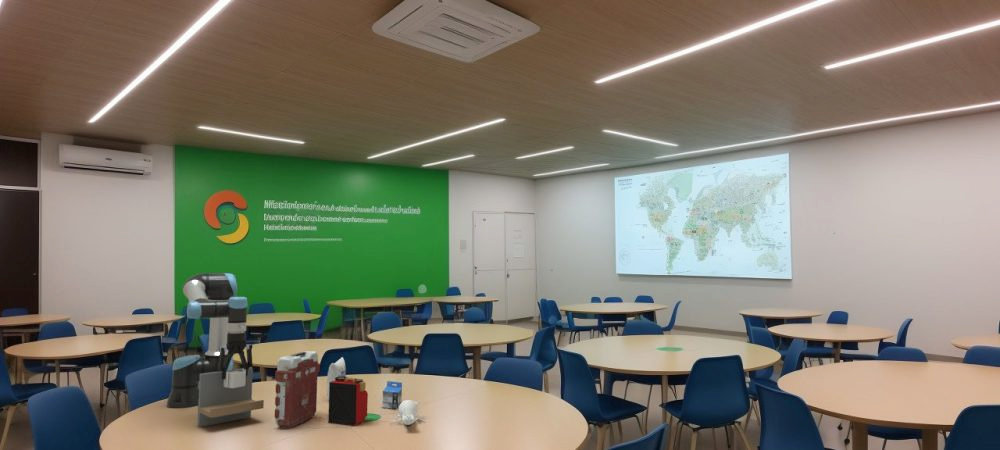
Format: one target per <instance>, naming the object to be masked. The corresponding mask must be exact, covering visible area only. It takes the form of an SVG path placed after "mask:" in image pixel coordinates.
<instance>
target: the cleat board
mask: <svg viewBox="0 0 1000 450" xmlns="http://www.w3.org/2000/svg"><path fill="white" fill-rule="evenodd" d="M242 369H244V368H237V369H236V368H235V369H232V370H227V371H228V372H232V371H242ZM253 369H254V368H253V367H250V368H249V369H248V375H247V376H246V381H245V386H242V387H237V388H228V387H224V379H222V371H219V372H211V373H203V374H200V379H199V400H198V405H197V422H196V423H197V428H198V427H199V428H202V426H203V427H206V426H207V427H208V426H212V425H217V424H222V423H223V424H224V423H227V422H233V421H237V420H239V421H240V420H244V419H249V418H251V417H252V411H256V410H261V409H264V407H265V406H264V401H265V400H264V399H260V400H255V399H252V395H253V394H252V393H253V374H254V373H253V371H254V370H253Z"/></svg>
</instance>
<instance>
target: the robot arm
mask: <svg viewBox="0 0 1000 450" xmlns="http://www.w3.org/2000/svg"><path fill="white" fill-rule="evenodd" d="M182 293H183V295H184V296H185V297H186V298H187V299H188V303H187V308H186V314H187V315H186V316H187V318H188V319H195V320H199V319H209V331H208V332H209V336H208V337H209V339H208V350H207V351H206V352H205V353H204V357H201V356H200V354H191V355H185V356H181V357H177V358H176V359H174V360H173V365H172V378H171V379H172V382H171V391H170V392H169V396H168V398H167V401H166V407H167V408H172V409H173V408H175V409H178V408H179V409H180V408H191V407H195V406H198V400H199V379H200V374H203V373H211V372H219V371H222V379H224V387H228V373H229V372H228V371H227V370H233V367H234V355H238V356H239V359H240V362H241V363H242V364H241V365H242V367H243V368H244V369H242V368H241V369H242V372H245V381H246V376H247V375H248V369H249V368H250V367H251V368H253V366H254V365H253V353H252V352H253V351H252V349H253V344H249V343H248V344H247V342H246V341H247V332H246V331H247V318H248V317H247V316H248V305H249V304H248V298H247V297H245V296H237V293H238V283H237V279H236V276H235V274H233V273H228V272H227V273H226V272H221V273H220V272H216V273H215V272H214V273H213V272H212V273H208V272H207V273H206V272H202V273H197V274H194V275H192V276H190V277H189V278H187V279H186V280H185V281H184V283H183V284H182ZM245 349H246V355H245V351H244V350H245Z"/></svg>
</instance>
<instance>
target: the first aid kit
mask: <svg viewBox="0 0 1000 450" xmlns="http://www.w3.org/2000/svg"><path fill="white" fill-rule="evenodd" d="M320 364H321V363H319V355H318V353H317V351H313V350H312V351H311V350H309V351H308V350H305V351H299V352H297V353H292V354H290V355H285V356H281V357H280V358H278V361H277V366H276V367H277V370H275V372H274V373H275V374H274V380H275V381H276V384H275V394H276V396H275V398H274V404H275V409H274V419H275V424H276V425H277V427H280V428H283V429H288V428H289V429H290V428H293V427H295V426H297V425H301V424H303V423H304V422H306V421H308V420H310V419H311V418H314V417H315V415H316V412H317V403H318V402H317V400H318V397H317V396H318V374H319V373H320V370H321V369H320V367H321V365H320Z"/></svg>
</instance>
